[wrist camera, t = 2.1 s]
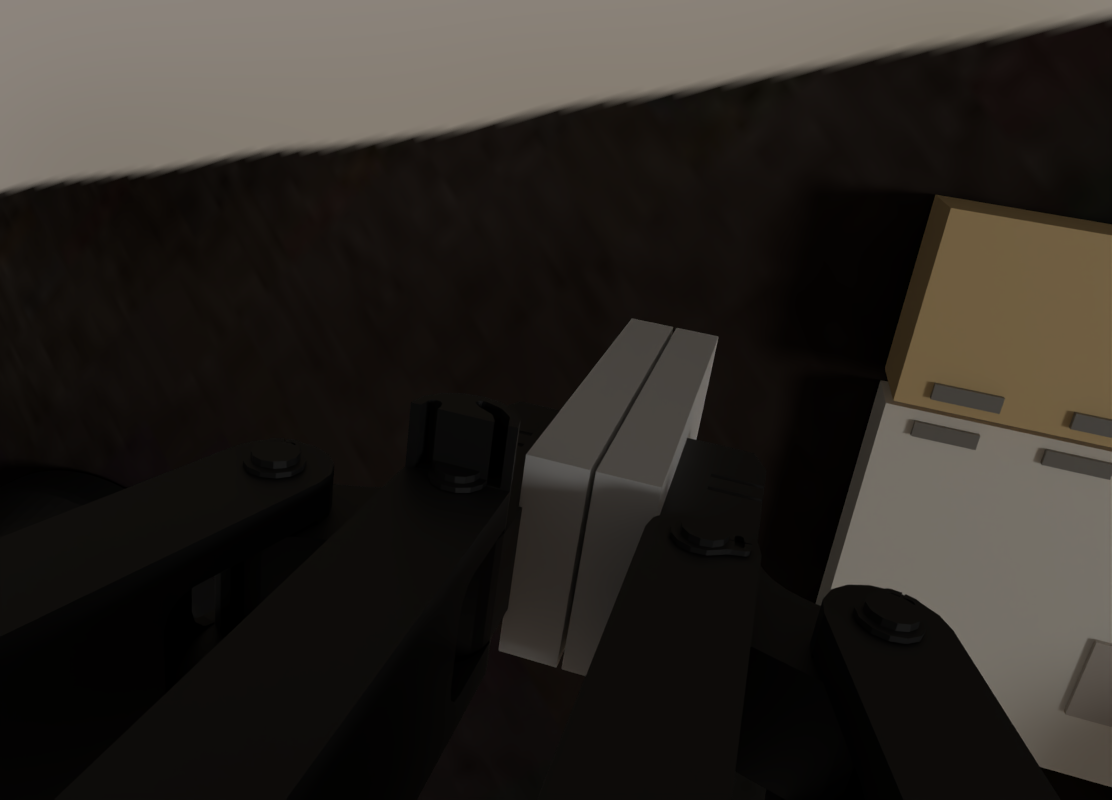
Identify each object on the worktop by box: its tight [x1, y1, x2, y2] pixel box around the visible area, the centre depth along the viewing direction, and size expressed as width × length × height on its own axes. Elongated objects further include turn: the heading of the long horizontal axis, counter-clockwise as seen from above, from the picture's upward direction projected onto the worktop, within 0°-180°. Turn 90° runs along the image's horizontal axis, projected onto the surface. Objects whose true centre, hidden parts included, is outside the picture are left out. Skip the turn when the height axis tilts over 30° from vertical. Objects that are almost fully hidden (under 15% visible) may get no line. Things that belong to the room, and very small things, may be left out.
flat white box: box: [815, 380, 1112, 787], centre depth 31 cm, size 16×12×3 cm
